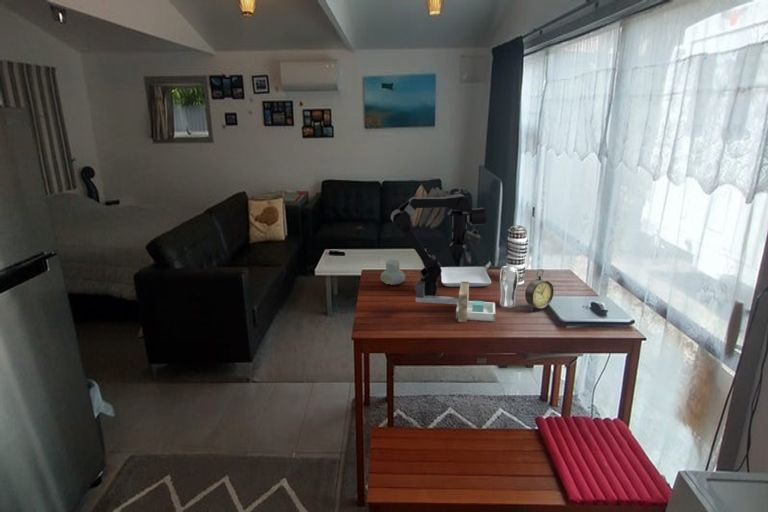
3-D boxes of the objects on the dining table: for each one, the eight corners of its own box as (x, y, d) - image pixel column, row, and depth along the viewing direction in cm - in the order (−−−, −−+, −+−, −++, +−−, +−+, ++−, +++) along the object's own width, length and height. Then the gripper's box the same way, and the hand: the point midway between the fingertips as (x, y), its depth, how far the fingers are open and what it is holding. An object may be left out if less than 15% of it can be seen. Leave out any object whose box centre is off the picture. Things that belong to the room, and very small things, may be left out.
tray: (455, 318, 171) (455, 311, 170) (457, 307, 181) (457, 300, 180) (494, 321, 168) (495, 314, 167) (494, 309, 178) (494, 302, 177)
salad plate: (441, 289, 200) (441, 282, 199) (439, 273, 220) (439, 266, 219) (491, 289, 198) (492, 282, 197) (484, 273, 218) (484, 266, 217)
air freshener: (408, 283, 207) (408, 261, 204) (396, 288, 201) (396, 266, 198) (389, 277, 214) (389, 257, 211) (377, 282, 208) (377, 261, 205)
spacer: (472, 304, 171) (483, 305, 170) (472, 300, 175) (483, 301, 174) (472, 314, 172) (483, 315, 172) (472, 310, 176) (483, 311, 175)
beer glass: (517, 308, 178) (519, 272, 174) (498, 307, 179) (500, 271, 175) (516, 301, 184) (518, 266, 180) (498, 300, 186) (500, 265, 181)
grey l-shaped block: (415, 302, 176) (415, 283, 174) (416, 299, 179) (416, 280, 177) (462, 305, 173) (462, 286, 170) (462, 302, 175) (463, 283, 173)
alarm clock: (531, 314, 173) (535, 273, 168) (521, 309, 178) (524, 269, 173) (553, 308, 178) (556, 268, 173) (542, 303, 182) (545, 264, 178)
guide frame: (458, 321, 168) (458, 296, 165) (460, 305, 182) (461, 281, 179) (466, 322, 168) (467, 296, 165) (468, 305, 182) (469, 281, 179)
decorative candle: (527, 285, 202) (532, 229, 194) (506, 285, 202) (509, 229, 195) (522, 277, 211) (525, 224, 203) (501, 278, 211) (504, 224, 203)
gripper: (479, 232, 177) (477, 270, 182) (480, 221, 195) (478, 256, 199) (450, 231, 180) (449, 269, 184) (453, 220, 197) (452, 255, 202)
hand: (458, 262), depth 192 cm, fingers open, 9 cm apart
